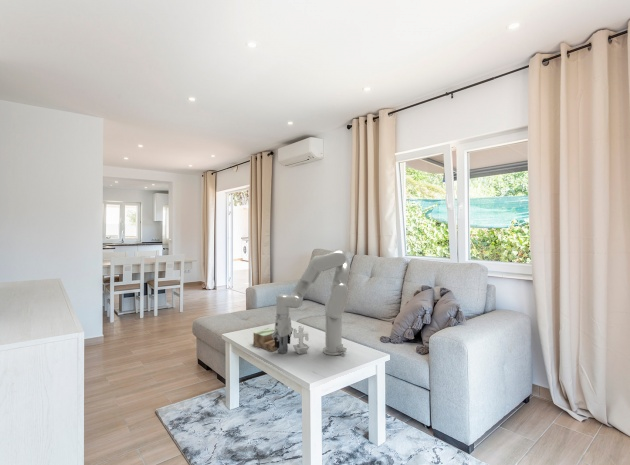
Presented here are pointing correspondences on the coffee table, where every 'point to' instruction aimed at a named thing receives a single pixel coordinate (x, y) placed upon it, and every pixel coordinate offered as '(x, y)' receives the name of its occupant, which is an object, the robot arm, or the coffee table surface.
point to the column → (283, 345)
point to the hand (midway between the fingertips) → (282, 345)
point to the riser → (265, 339)
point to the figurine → (300, 340)
